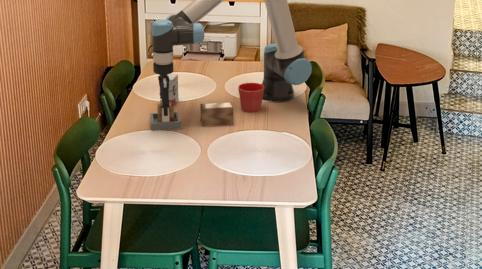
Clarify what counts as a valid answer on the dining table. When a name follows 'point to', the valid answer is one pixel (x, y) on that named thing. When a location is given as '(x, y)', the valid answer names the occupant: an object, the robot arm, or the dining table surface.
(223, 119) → the brown wooden box
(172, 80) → the ink box
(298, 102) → the dining table surface
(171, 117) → the brown block
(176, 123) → the slate tray
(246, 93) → the flower pot
